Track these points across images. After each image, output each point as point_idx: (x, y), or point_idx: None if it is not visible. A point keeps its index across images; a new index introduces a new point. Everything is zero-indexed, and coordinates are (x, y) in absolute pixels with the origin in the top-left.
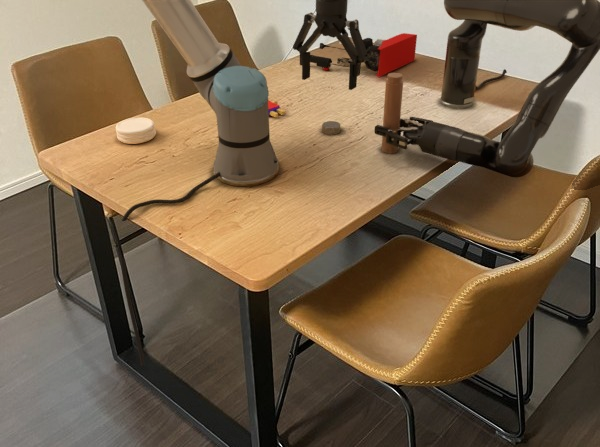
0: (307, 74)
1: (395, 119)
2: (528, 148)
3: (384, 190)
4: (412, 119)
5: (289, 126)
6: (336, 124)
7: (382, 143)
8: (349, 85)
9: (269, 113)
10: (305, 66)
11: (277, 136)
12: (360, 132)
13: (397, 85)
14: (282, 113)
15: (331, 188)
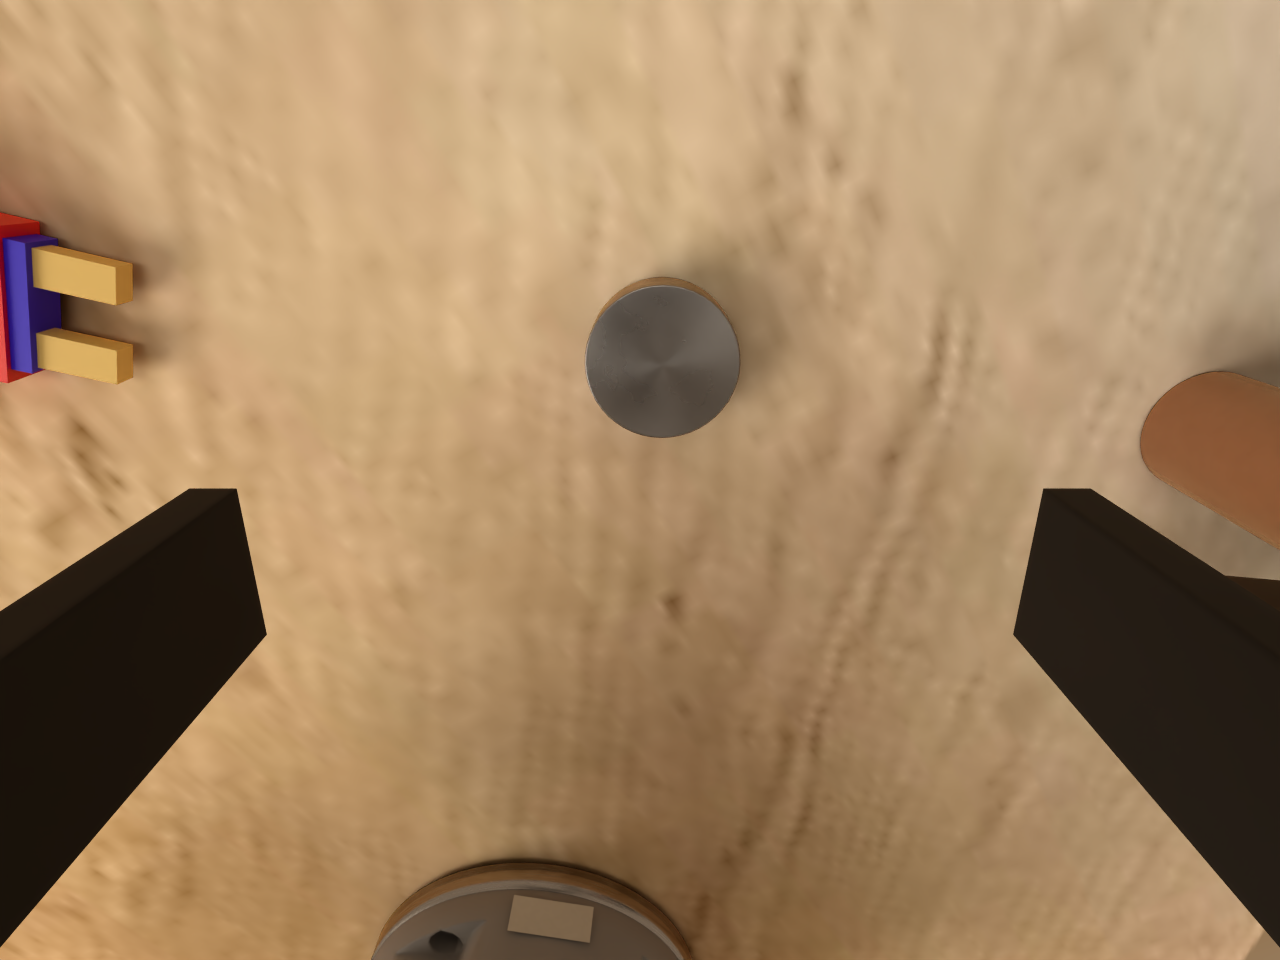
0: (218, 590)
1: None
2: None
3: None
4: None
5: (334, 437)
6: (701, 340)
7: (1188, 494)
8: (1057, 672)
9: (48, 365)
10: (135, 754)
11: (384, 612)
12: (891, 252)
13: None
14: (125, 298)
15: (991, 935)
